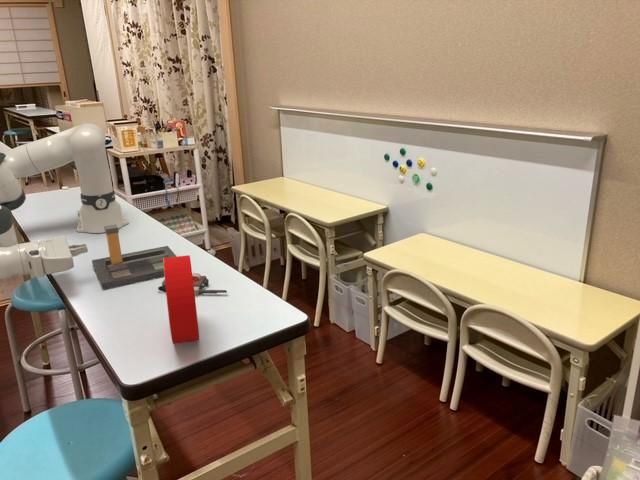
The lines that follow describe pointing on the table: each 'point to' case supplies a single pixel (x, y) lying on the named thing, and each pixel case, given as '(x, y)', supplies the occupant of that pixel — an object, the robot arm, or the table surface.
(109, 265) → the grey metal board
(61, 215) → the table surface
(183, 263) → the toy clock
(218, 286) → the table surface
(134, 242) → the table surface
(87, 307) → the table surface
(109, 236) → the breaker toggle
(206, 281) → the walkie-talkie
